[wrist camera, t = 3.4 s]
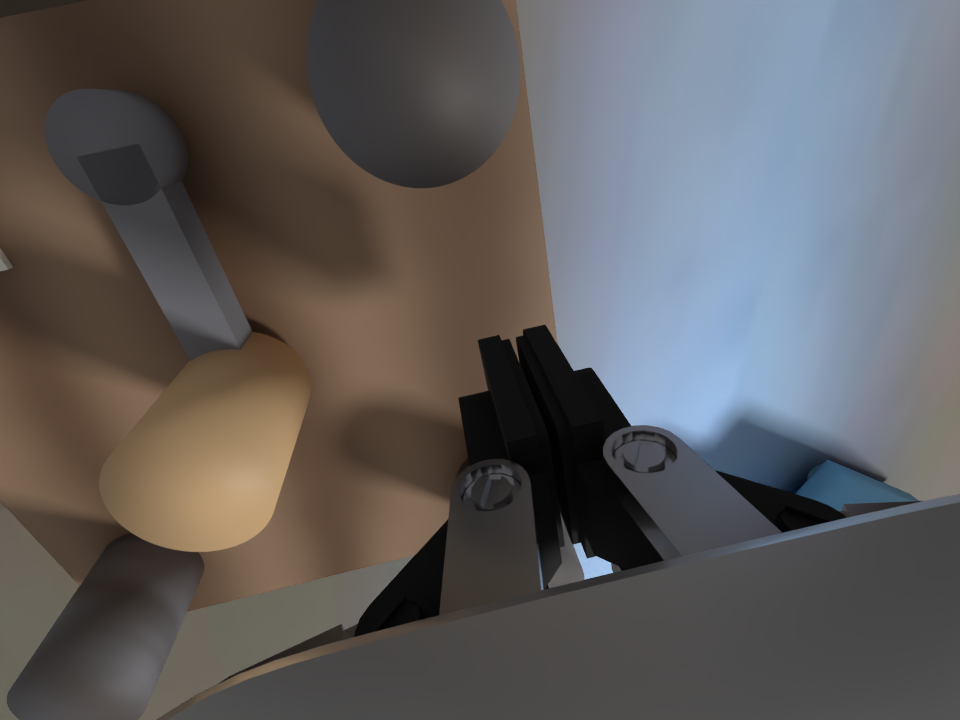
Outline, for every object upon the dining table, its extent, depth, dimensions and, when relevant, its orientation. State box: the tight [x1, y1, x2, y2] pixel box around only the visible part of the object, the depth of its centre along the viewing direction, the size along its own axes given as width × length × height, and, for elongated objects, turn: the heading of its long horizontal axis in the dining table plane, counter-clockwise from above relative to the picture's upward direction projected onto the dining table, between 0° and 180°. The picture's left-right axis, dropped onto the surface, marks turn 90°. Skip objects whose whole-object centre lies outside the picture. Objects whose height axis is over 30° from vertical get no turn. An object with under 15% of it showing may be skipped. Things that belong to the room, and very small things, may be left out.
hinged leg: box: [44, 89, 312, 552], centre depth 11 cm, size 10×4×5 cm, turn 11°
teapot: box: [795, 460, 918, 511], centre depth 24 cm, size 12×6×8 cm, turn 63°
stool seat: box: [0, 0, 584, 720], centre depth 15 cm, size 20×20×8 cm
